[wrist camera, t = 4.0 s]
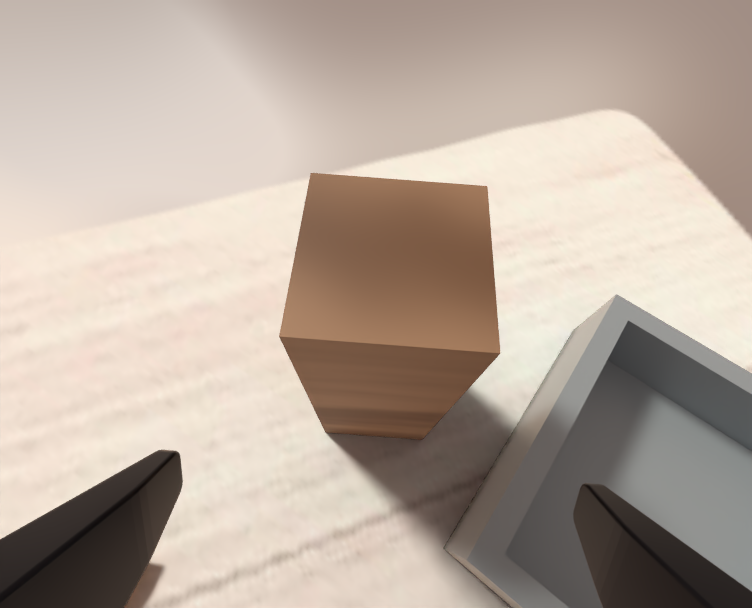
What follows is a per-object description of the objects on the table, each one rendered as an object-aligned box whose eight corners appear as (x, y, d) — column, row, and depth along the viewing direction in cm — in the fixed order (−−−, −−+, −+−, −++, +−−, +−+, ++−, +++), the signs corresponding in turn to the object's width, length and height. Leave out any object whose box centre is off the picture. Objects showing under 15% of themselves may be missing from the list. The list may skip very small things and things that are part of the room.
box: (827, 490, 20) (944, 486, 16) (757, 818, 15) (904, 934, 11) (573, 330, 24) (616, 294, 20) (443, 548, 18) (466, 560, 14)
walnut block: (421, 439, 21) (500, 353, 9) (325, 432, 21) (278, 336, 9) (423, 348, 23) (487, 186, 11) (336, 342, 23) (310, 172, 11)
